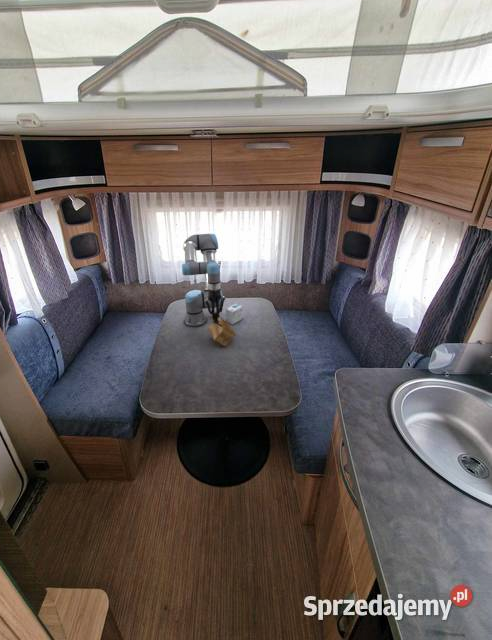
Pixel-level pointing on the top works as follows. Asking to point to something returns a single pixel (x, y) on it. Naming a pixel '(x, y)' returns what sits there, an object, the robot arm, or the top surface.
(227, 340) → the light wood box
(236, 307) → the light bulb box
